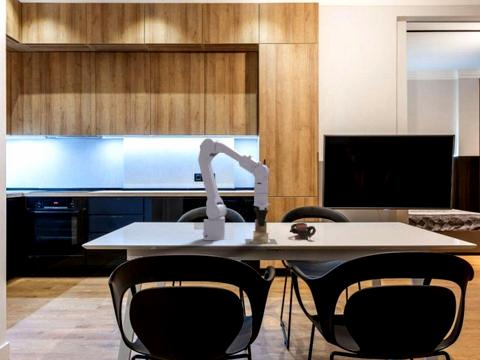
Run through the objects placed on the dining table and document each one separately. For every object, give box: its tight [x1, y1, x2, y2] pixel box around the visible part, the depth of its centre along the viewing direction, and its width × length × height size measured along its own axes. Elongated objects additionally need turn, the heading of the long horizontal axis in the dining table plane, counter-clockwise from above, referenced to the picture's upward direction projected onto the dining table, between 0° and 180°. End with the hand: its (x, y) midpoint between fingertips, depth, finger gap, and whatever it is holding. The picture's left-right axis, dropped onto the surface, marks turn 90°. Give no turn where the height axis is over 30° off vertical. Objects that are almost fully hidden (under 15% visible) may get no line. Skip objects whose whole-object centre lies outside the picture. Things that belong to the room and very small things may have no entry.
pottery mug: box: [289, 222, 317, 241], centre depth 186 cm, size 12×9×8 cm
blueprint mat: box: [244, 238, 278, 245], centre depth 175 cm, size 13×13×1 cm
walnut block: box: [254, 218, 268, 232], centre depth 176 cm, size 4×4×5 cm
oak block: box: [252, 230, 269, 242], centre depth 176 cm, size 6×6×4 cm
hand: (260, 225), depth 176 cm, fingers open, 6 cm apart
